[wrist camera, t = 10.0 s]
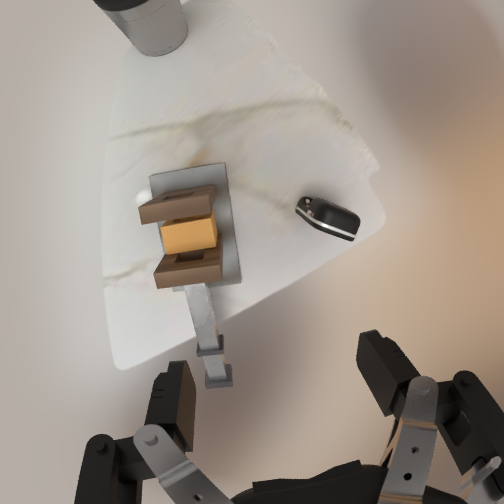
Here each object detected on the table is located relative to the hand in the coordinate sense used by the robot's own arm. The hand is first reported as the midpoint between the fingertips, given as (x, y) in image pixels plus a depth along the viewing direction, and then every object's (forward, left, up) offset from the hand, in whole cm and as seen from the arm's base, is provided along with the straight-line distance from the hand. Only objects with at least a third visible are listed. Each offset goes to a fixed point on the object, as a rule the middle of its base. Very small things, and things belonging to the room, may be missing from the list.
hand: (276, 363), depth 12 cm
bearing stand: (+2, -7, -35) cm, 36 cm away
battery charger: (+1, +13, -35) cm, 37 cm away
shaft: (+14, -7, -27) cm, 31 cm away
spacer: (+1, -8, -34) cm, 34 cm away
